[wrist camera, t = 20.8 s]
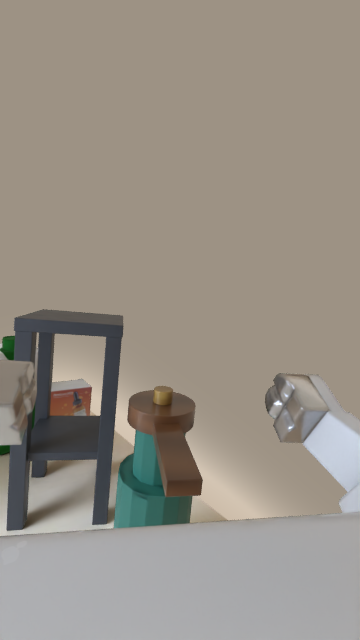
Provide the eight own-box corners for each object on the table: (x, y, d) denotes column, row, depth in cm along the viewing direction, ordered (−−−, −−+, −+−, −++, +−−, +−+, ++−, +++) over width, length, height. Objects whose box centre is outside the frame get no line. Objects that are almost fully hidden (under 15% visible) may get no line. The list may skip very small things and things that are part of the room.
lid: (232, 494, 20) (237, 448, 20) (131, 499, 19) (135, 449, 18) (185, 406, 35) (188, 379, 34) (126, 406, 33) (129, 377, 33)
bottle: (95, 592, 29) (107, 431, 27) (131, 533, 36) (143, 403, 35) (167, 628, 26) (186, 452, 25) (191, 556, 34) (206, 418, 32)
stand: (107, 524, 37) (123, 325, 35) (5, 531, 35) (14, 317, 32) (110, 467, 49) (122, 315, 46) (34, 469, 46) (42, 309, 44)
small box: (46, 447, 53) (49, 391, 52) (39, 433, 57) (42, 382, 56) (89, 437, 58) (92, 386, 57) (79, 425, 62) (82, 377, 61)
